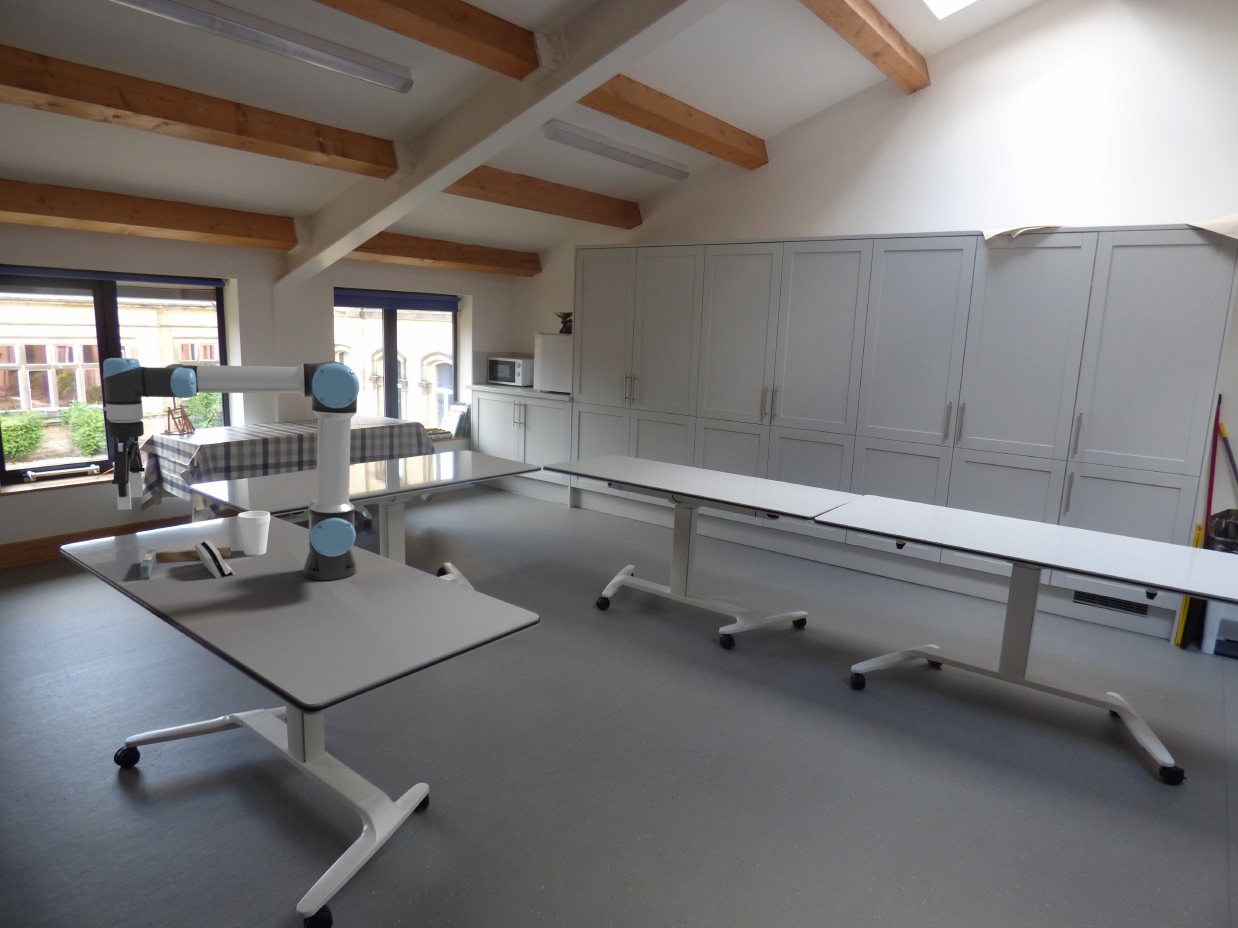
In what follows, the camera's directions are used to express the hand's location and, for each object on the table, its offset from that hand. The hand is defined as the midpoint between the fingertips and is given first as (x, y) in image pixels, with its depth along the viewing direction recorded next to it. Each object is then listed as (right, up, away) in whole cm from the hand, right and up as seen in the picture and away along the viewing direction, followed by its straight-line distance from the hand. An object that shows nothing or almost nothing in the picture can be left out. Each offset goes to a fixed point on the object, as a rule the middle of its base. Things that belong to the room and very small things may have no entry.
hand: (130, 503), depth 183 cm
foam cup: (+6, -19, +51) cm, 55 cm away
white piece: (+2, -22, +33) cm, 40 cm away
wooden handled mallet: (-6, -21, +34) cm, 41 cm away
